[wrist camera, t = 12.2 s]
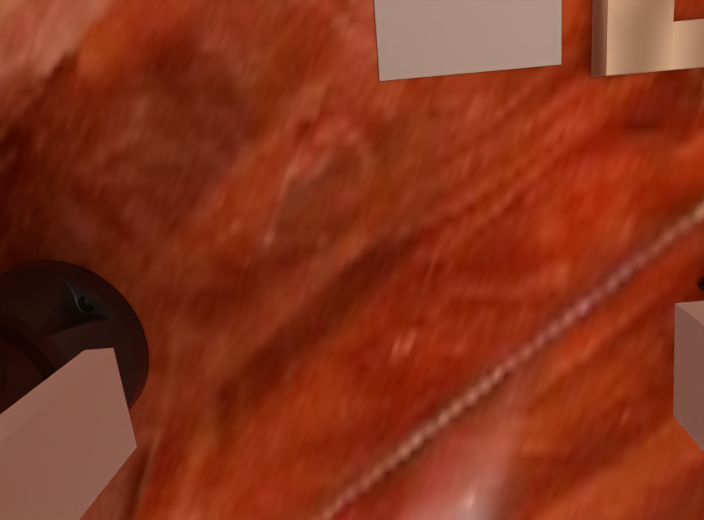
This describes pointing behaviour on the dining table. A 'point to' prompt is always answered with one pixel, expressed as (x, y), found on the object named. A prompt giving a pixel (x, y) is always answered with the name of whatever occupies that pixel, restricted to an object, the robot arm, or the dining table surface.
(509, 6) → the mat
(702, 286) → the graphics card box
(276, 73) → the dining table surface
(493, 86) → the dining table surface
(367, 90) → the dining table surface
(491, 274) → the dining table surface
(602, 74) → the hole block
